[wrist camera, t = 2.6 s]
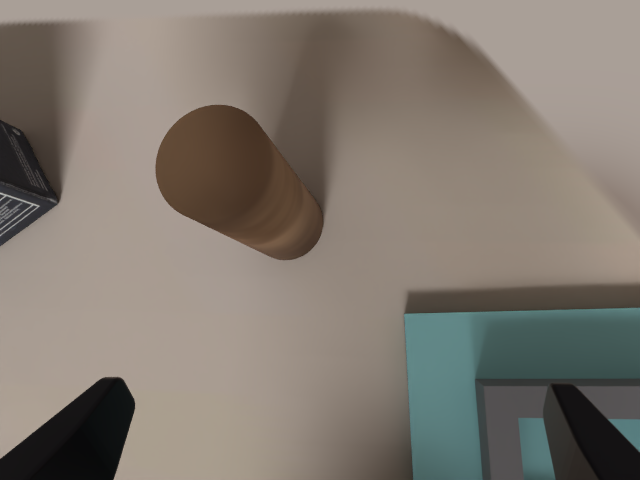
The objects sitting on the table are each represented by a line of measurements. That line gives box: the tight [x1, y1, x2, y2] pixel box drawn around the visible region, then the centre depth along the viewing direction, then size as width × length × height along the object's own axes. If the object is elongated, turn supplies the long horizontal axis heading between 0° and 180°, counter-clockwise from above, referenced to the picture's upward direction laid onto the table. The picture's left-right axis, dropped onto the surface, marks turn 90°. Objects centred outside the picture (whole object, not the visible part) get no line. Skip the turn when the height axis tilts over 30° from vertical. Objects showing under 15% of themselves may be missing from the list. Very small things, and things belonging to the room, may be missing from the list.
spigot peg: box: [156, 105, 323, 260], centre depth 20 cm, size 4×4×10 cm
